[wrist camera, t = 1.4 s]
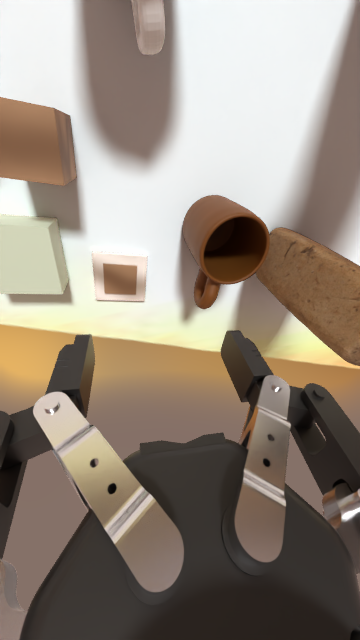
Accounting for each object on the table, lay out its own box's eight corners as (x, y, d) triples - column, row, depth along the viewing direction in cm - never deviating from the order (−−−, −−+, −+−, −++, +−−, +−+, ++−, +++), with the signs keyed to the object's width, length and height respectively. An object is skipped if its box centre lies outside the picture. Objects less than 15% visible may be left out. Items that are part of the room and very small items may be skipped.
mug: (210, 285, 35) (231, 322, 28) (164, 274, 33) (174, 311, 26) (247, 205, 29) (286, 225, 22) (193, 184, 26) (218, 199, 19)
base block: (-23, 211, 25) (-45, 221, 22) (57, 217, 26) (47, 227, 23) (3, 277, 29) (-12, 293, 26) (69, 279, 31) (62, 294, 28)
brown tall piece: (240, 265, 34) (333, 366, 19) (271, 217, 31) (419, 293, 15) (290, 287, 39) (399, 383, 23) (322, 246, 35) (478, 329, 19)
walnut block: (9, 103, 20) (-27, 91, 15) (70, 115, 21) (53, 108, 17) (23, 169, 23) (-3, 176, 18) (76, 177, 24) (64, 185, 20)
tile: (92, 251, 29) (91, 253, 28) (147, 255, 31) (147, 258, 30) (96, 297, 33) (95, 300, 32) (144, 299, 35) (144, 302, 34)
